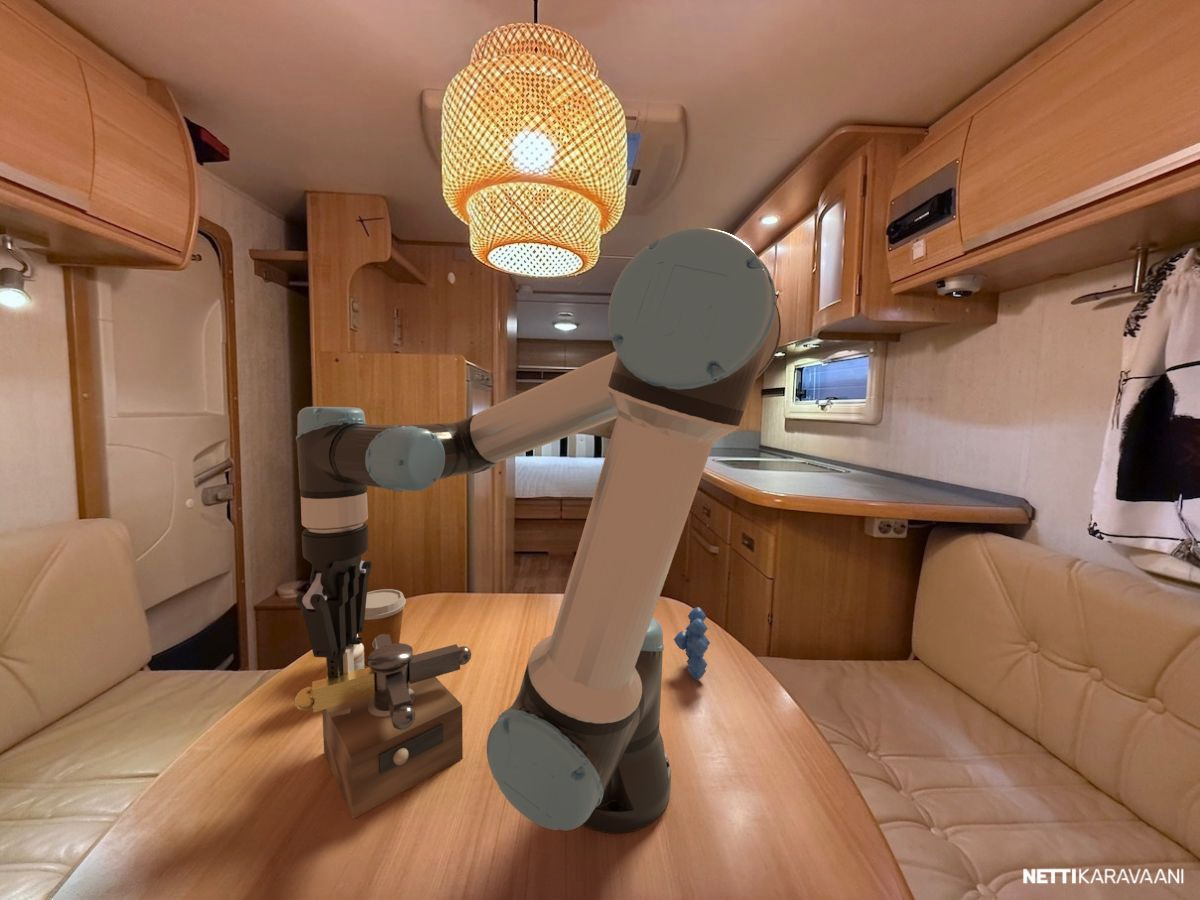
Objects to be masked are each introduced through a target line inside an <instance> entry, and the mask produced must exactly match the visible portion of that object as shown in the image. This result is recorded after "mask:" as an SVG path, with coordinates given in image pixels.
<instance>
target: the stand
mask: <svg viewBox="0 0 1200 900" xmlns="http://www.w3.org/2000/svg"><path fill="white" fill-rule="evenodd" d="M409 695H410V698H411V707H413V709H414V711H415V719H414V721H413V723H412V724H411V726H409V727H408V728H406V729H403V730H399V729H396V728H395V729H394V727H393V724H392V719H391V715H390V711H381V710H378V709H376V708H375V706H374V695H372V696H368V697H365V698H361V699H358V700H354V701H351V702H348V703H344V704H341V705H337V706H334V707H331V708H327V709H324V710H321V712H322V731H323V732H322V733H323V734H322V737H323V738H322V739H323V753H324V756H325V758H326V760H327V763H328V765H329V767H330V770H331V772H332V774H333V776H334V778H335V781H336V783H337V786H338V788H339V790H340V792H341V795H342V797H343V798H344V801H345V803H346V805H347V808H348V810H349V812H350V815H351V817H352V819H353V820H355V819H357V818H358V817H360V816H362V815H364V814H366V813H368V812H369V811H371V810H373V809H374V808H376V807H378V806H380V805H382V804H384V803H386V802H387V801H389V800H391V799H392V798H394V797H396V796H398V795H399V794H401V793H403V792H405V791H407V790H409V789H411V788H412V787H414V786H416V785H418V784H419V783H421V782H423V781H425V780H427V779H428V778H431V776H434V775H436V774H438V773H439V772H441V771H443V770H445V769H446V768H448V767H449V766H450V767H451V765H453V764H455V763H457V762H459V761H460V760H462V759H464V758H463V757H464V754H463V751H464V749H463V744H464V743H463V742H464V741H463V736H464V735H463V704H462V703H461V702H460V701H459V700H458V699H457V698H456V696H455V695H453V694H452V692H450V690H449V689H448V688H447V687H446V686H445V685H444V684H443V683H442V682H441V681H440V680H439V679H438V678H437V676H436V677H433V678H430V679H426V680H423V681H419V682H416V683H412V684H409Z"/></svg>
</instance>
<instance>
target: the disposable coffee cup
mask: <svg viewBox="0 0 1200 900" xmlns="http://www.w3.org/2000/svg"><path fill="white" fill-rule="evenodd" d="M406 603H407V600H406V598H405V595H404V593H403V592H402V591H400V590H398V589H392V588H389V589H388V588H384V589H376V590H372V591H367V598H366V608H365V619H364V629H363V631H362V633H358V637H359V638H362V642H361V643H362V644H363V646H364V666H367V667H369V666H368V657H369V655H370V654H371V653H372V652H373V651H374V648H373V641H374V639H375V637H377V636H378V635H381V634H386V635H387V634H389V635H390V638H391V641H392V644H395V643H400V640H401V632H402V623H403V622H402V620H403V615H404V608H405V605H406ZM356 623H357V622H356Z"/></svg>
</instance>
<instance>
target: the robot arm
mask: <svg viewBox="0 0 1200 900" xmlns="http://www.w3.org/2000/svg"><path fill="white" fill-rule="evenodd" d="M776 295H777V293H776V288H775V283H774V280H773V279H772V276H771V273H770V271H769V268H767V266H766V264H765V263H764V262H763V260H761V259H760V258H759V257H758V255H757V254H756V253H755V252H754V250H753V249H752V248H750V246H749V245H748V244H746V243H745V242H743V240H741V239H739V238H738V237H736V236H734V235H733V234H730V233H728V232H726V231H722V230H719V229H714V228H707V227H691V228H684V229H680V230H679V229H678V230H676V231H672V232H670V233H668V234H664V235H662V236H661V237H659V238H657V239H656V240H654V241H653V242H651V243H650V244H649V245H646V246H644V247H642V249H641V250H640V251H639V252H637V253H636V254H635V255H634V256H633V257H632V258H630V260H629V261H628V263H627V264H626V265H625V267H624V268H623V270H622V271H621V273H620V275H619V276H618V278H617V280H616V282H615V284H614V286H613V290H612V292H611V296H610V299H609V304H608V311H607V312H608V313H607V323H608V330H609V337H610V338H611V341H612V346H613V348H614V350H615V351H613V352H610V353H609V354H607V355H604V356H602V357H599V358H597V359H595V360H593V361H591V362H588V363H586V364H584V365H581V366H580V367H577V368H574V369H572V370H571V371H569V372H566V373H564V374H561V375H559V376H557V377H555V378H552V379H551V380H548V381H546V382H544V383H541V384H539V385H537V386H535V387H532V388H530V389H528V390H525V391H524V392H521V393H519V394H516V395H515V396H513V397H510V398H508V399H506V400H504V401H503V400H502V401H501V402H499V403H497V404H495V405H492V406H490V407H487V408H485V409H483V410H481V411H479V412H477V413H475V414H472V415H470V416H468V417H466V418H464V419H461V420H458V421H455V422H448V423H447V422H446V423H429V424H428V423H425V424H424V423H423V424H421V423H420V424H397V425H393V424H392V425H390V424H389V425H387V424H384V425H383V424H378V425H377V424H368V423H367V421H366V416H365V412H364V410H363V409H362V408H360V407H353V406H352V407H349V406H348V407H347V406H306V407H303V408H301V410H299V411H298V414H297V431H296V432H297V435H296V436H295V441H296V448H297V449H296V450H297V451H296V452H297V465H298V466H297V467H298V481H299V491H300V492H299V493H300V509H301V510H300V513H301V514H300V515H301V525H302V526H303V527H304V529H303V531H302V532H301V548H302V550H301V551H302V557H303V558H304V559H305V560H306V561H308V562H309V563H310V564H311V567H312V569H311V573H310V577H309V580H310V581H309V582H310V583H311V585H310V587H309V588H308V590H307V592H306V593H299V594H298V595H297V596H296V599H295V601H296V604H297V606H298V607H299V608H300V610H301V611H302V614H303V619H304V622H305V626H306V630H307V634H308V638H309V641H310V646H311V650H312V654H313V657H315V658H327V666H326V675H327V674H328V678H329V677H335V678H339V677H340V676H341V675H342V674H344V673H349V672H352V671H354V644H356V645H359V644H360V643H361V642H362V638H359V637H357V634H358V633H362V631H363V629H364V619H365V608H366V598H367V593H368V587H369V577H370V573H371V569H372V566H373V563H372V561H370V560H362V556H363V555H364V554H365V553H366V552H367V551H368V549H369V548H370V547H369V546H370V544H369V541H370V540H369V525H368V524H367V523H366V521H367V520H368V519H369V508H368V507H369V505H368V487H374V488H378V489H386V490H387V491H388V490H389V491H393V492H400V493H403V492H406V491H407V492H421V491H424V490H427V489H429V488H430V487H431V486H432V485H433V484H434V483H435V482H437V481H439V480H443V479H446V478H451V477H457V476H463V475H469V474H471V475H472V474H473V475H474V474H479V473H481V472H485V471H487V470H490V469H492V468H494V467H495V466H497V465H498V464H499V462H503V461H505V460H508V459H510V458H513V457H515V456H519V455H521V454H524V453H526V452H530V451H533V450H535V449H537V448H540V447H542V446H546V445H549V444H551V443H554V442H557V441H560V440H562V439H565V438H568V437H571V436H573V435H576V434H578V433H581V432H584V431H586V430H589V429H593V428H594V427H597V426H600V425H603V424H605V423H608V422H611V421H614V420H615V419H616V420H615V423H614V427H613V430H612V433H611V437H610V440H609V443H608V447H607V449H606V450H607V451H606V452H605V457H604V460H603V463H602V467H601V470H600V473H599V475H598V476H599V477H598V480H597V483H596V487H595V490H594V493H593V497H592V500H591V503H590V507H589V510H588V514H587V517H586V520H585V524H584V527H583V531H582V534H581V537H580V540H579V543H578V548H577V550H576V554H575V557H574V560H573V565H572V568H571V571H570V574H569V577H568V581H567V584H566V587H565V591H564V594H563V598H562V600H561V604H560V606H559V610H558V614H557V618H556V620H555V624H554V626H553V627H554V628H553V631H552V633H551V635H549V636H547V637H545V638H543V639H541V640H540V641H539V642H538V643H537V644H536V645H535V646H534V647H533V649H532V651H531V653H530V655H529V658H528V661H527V665H526V668H525V669H524V670H525V671H524V674H523V676H522V677H523V678H522V681H521V685H520V688H519V691H518V694H517V696H516V698H515V700H514V701H513V703H512V705H511V706H510V707H509V708H508V709H506V710H504V711H502V712H501V714H500V715H498V718H497V719H496V722H495V723H494V724H493V725H492V727H491V728H490V730H489V733H488V735H487V741H486V759H487V763H488V766H489V767H488V768H489V769H490V773H491V775H492V777H493V780H495V782H496V784H497V785H498V788H499V790H500V792H501V793H502V794H503V797H505V798H506V800H507V801H508V803H510V804H511V805H512V806H513V808H514V809H516V811H518V812H519V813H520V814H521V815H522V816H523V817H525V818H526V819H528V820H530V821H531V822H532V823H534V824H536V825H538V826H541V827H542V828H544V829H548V830H552V831H558V830H561V831H565V832H567V831H572V830H575V829H577V828H579V827H581V826H582V825H584V826H585V827H588V828H590V829H593V830H595V831H599V832H603V833H609V834H623V833H624V834H626V833H631V832H636V831H639V830H642V829H644V828H645V827H647V826H649V825H651V824H652V823H653V822H654V821H656V820H657V819H658V818H659V817H660V816H661V814H663V813H664V811H665V809H666V807H667V805H668V804H669V800H670V798H671V797H670V796H671V790H672V789H671V788H672V787H671V785H672V771H671V765H670V760H669V758H668V755H667V753H666V751H665V746H664V745H665V744H664V741H663V737H662V733H661V730H660V721H661V719H660V718H661V699H662V698H661V697H662V674H663V657H664V656H663V652H664V650H665V644H664V639H663V638H664V635H663V633H664V631H663V628H662V626H661V624H660V622H659V621H658V620H657V619H656V618H655V617H653V616H654V613H655V611H656V608H657V605H658V601H659V599H660V597H661V593H662V590H663V588H664V585H665V581H666V580H667V575H668V574H669V571H670V568H671V565H672V561H673V560H674V559H673V558H674V556H675V553H676V551H677V548H678V545H679V542H680V539H681V536H682V534H683V531H684V527H685V525H686V522H687V519H688V516H689V512H690V510H691V507H692V505H693V502H694V499H695V496H696V493H697V490H698V488H699V484H700V482H701V479H702V476H703V473H704V470H705V468H706V464H707V462H708V459H709V456H710V454H711V453H710V452H712V447H713V446H714V445H713V444H715V443H716V441H718V440H719V439H721V438H723V437H725V436H727V435H729V434H731V433H733V432H735V431H737V430H739V427H740V424H741V421H742V417H743V416H744V412H745V410H746V407H747V405H748V401H749V399H750V396H751V394H752V391H753V388H754V386H755V383H756V380H757V378H760V376H761V375H762V374H763V373H764V372H765V371H766V370H767V368H768V367H769V365H770V364H771V363H772V361H773V360H774V357H775V355H776V354H777V351H778V349H779V344H780V341H781V337H782V336H781V334H782V324H781V323H782V321H781V316H780V312H779V308H778V306H777V296H776ZM356 622H357V623H356ZM327 668H328V669H327ZM327 671H328V672H327Z"/></svg>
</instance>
